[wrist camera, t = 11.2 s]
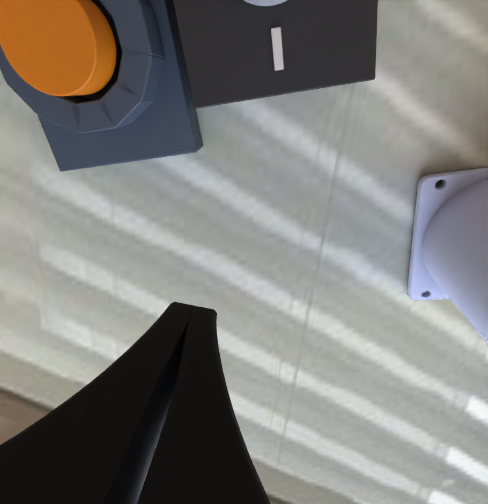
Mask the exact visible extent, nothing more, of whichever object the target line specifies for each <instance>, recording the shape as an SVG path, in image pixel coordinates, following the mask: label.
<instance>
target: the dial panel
mask: <svg viewBox="0 0 488 504" xmlns="http://www.w3.org/2000/svg"><path fill="white" fill-rule="evenodd" d="M173 3H174V8H175V13H176V19H177V24H178V29H179V34H180V39H181V44H182V49H183V54H184V59H185V64H186V69H187V74H188V79H189V84H190V89H191V94H192V99H193V104H194V108H202V107H208V106H214V105H220V104H226V103H233V102H239V101H245V100H251V99H257V98H264V97H270V96H276V95H282V94H288V93H294V92H301V91H307V90H313V89H319V88H325V87H332V86H338V85H344V84H350V83H356V82H363V81H369V80H374V79H375V66H376V36H377V6H378V0H287V1H285V2H283V3H280V4H277V5H272V6H258V5H253V4H250V3H248V2H246V1H244V0H173Z"/></svg>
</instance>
